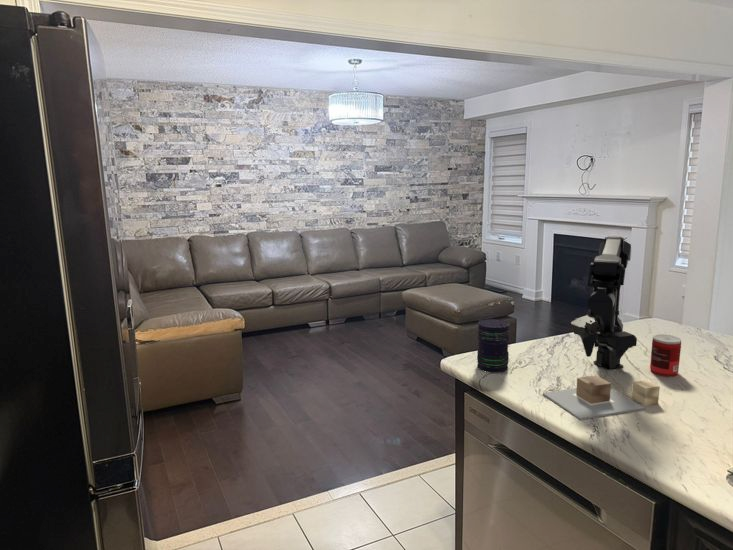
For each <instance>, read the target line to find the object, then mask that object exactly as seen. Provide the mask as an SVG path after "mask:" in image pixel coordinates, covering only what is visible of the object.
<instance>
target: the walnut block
mask: <svg viewBox="0 0 733 550" xmlns="http://www.w3.org/2000/svg"><path fill="white" fill-rule="evenodd" d="M576 388H577V390H576V395H577V396H579V397H581V398H582V399H584V400H586V401H587V402H589V403H591V404H592V403H599V402H605V401H610V391H611V389H612V383H611V382H609V381H607V380H605V379H604V378H603V377H600V376H598V375H596V374H595V375H589V376H582V377H577V378H576Z"/></svg>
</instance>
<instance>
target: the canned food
mask: <svg viewBox="0 0 733 550" xmlns="http://www.w3.org/2000/svg"><path fill="white" fill-rule="evenodd" d="M681 349H682V339H681V338H680V337H677V336H676V335H675V336H674V335H671V334H664V333H663V334H662V333H661V334H660V333H659V334H655V335H653V336H652V341H651V351H650V353H651V354H650V365H649V370H650V371H651V372H652V373H653V374H655V375H657V374H658V375H657V376H661V375H662V377H675V376H677V375H678V373H679V368H680V358H681Z"/></svg>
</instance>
